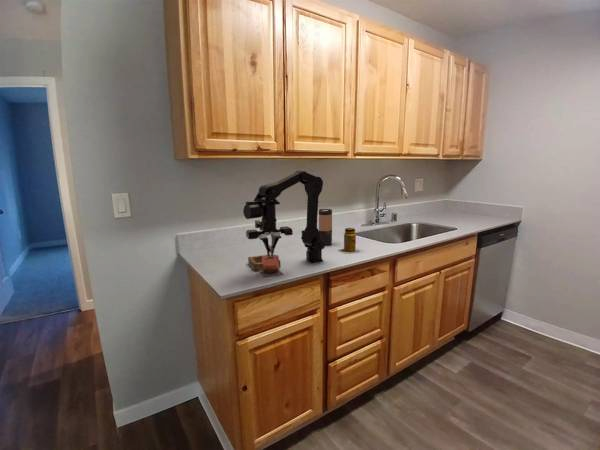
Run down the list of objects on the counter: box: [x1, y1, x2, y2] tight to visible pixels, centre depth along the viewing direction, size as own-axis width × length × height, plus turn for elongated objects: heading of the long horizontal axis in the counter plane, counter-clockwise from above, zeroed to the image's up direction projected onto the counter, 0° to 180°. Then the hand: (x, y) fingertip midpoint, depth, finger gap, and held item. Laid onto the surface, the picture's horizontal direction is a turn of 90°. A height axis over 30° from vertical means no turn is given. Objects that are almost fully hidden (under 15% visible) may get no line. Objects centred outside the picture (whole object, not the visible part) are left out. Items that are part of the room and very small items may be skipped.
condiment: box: [338, 227, 359, 254], centre depth 163 cm, size 7×8×12 cm
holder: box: [247, 254, 282, 272], centre depth 143 cm, size 12×12×3 cm
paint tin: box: [262, 244, 280, 273], centre depth 132 cm, size 7×7×10 cm
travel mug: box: [318, 208, 333, 247], centre depth 176 cm, size 8×8×20 cm
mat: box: [258, 269, 284, 278], centre depth 133 cm, size 8×8×1 cm
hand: (270, 252), depth 131 cm, fingers closed on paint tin
